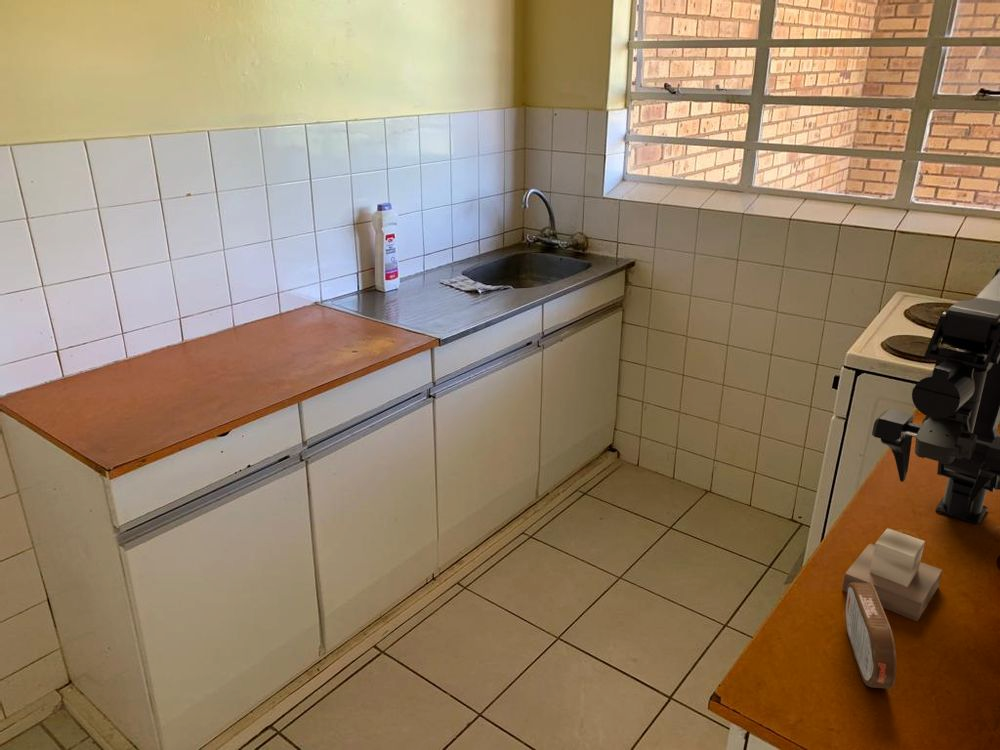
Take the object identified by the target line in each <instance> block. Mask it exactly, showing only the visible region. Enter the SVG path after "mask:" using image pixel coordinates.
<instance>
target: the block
mask: <svg viewBox="0 0 1000 750" xmlns="http://www.w3.org/2000/svg"><path fill="white" fill-rule="evenodd" d="M925 542H926V540H922V539H921V538H917V537H914V536H911V535H908V534H905V533H904V532H900V531H897V530H894V529H891V528H889V527H887V528H886V529H885V531H884V532H883V533H882V534H881V536H879V538H878V539H877V540H876V542H875V544H874V545H875V548H874V553H873V558H872V563H871V568H870V573H872V574H875V575H878V576H880V577H883V578H885V579H888V580H890V581H893V582H896V583H898V584H901V585H903V586H906V587H908V585H909V584H910V582H911V581H912V579H913V578H914V576H915V575H916V573H917V572H918V570H919V565H920V562H922V561H921V560H922V556H923V551H924V546H925Z"/></svg>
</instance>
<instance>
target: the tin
mask: <svg viewBox="0 0 1000 750" xmlns="http://www.w3.org/2000/svg"><path fill="white" fill-rule="evenodd" d="M845 599H846V600H845V605H844V618H845V626H846V632H847V636H848V640H849V644H850V646H851V648H852V649H851V650H852V652H853V656H854V658H855V661H856V664H857V668H858V671H859V674H860V677H861V679H862V681H863V683H864V684H865V685H866V686H868V687H870V688H876V689H877V688H878V689H887V690H892V689H893V688H894V686H895V683H896V679H897V651H896V644H895V638H894V633H893V631H892V630H893V629H892V628H891V625H890V622H889V620H888V618H887V615H886V612H885V611H884V610H885V609H884V608H883V607H882V605H881V602H880V600H879V597H878V595H877V592H876V590H875V587H874V586H873V584H872V583H870V582H868V583H855V582H854V583H849V584H848V586H847V592H846V598H845Z"/></svg>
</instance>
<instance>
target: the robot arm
mask: <svg viewBox="0 0 1000 750" xmlns="http://www.w3.org/2000/svg"><path fill="white" fill-rule="evenodd" d="M940 344H941V346H943V347H941V346H940ZM946 347H948V348H946ZM950 348H953V349H950ZM955 349H956V350H955ZM923 358H925V359H928V360H933V361H935V364H934V367H933V368H932V369H933V370H932V371H930V372H929V373H928V374H926V375H925V376H924V377H923V378H921V379H920V380H919V381H918V382H917V383H916V384H915V385H914V387H913V388H912V391H911V400H912V403H913V405H914V406H915V408H916V409H917V410H918V411H919V412H920V413H921V414H923V415H924V416H925V417H924V418H923V420H922V423H921V424H919V423H918V424H917V423H915V422H914V414H911V413H907V412H902V411H900V410H896V409H891V408H888V409H886V410H885V411H883V412H882V413H881V414H880V415H879V416H878V417H877V418H876V419H875V421H874V423H873V425H872V427H873V428H872V433H871V436H873V437H875V438H878V439H880V442H881V443H882V444H883V445H886V446H888V448H890V450H891V452H892V453H893V457H894V461H895V466H896V468H897V472H898V473H897V474H898V477H899V481H900V482H902V483H904V482H905V480H906V477H907V474H908V470H909V463H910V456H911V449H912V442H913V438H915V445H914V446H915V447H914V454H915V455H916V457H918V458H921V459H925V458H926V459H929V460H932V461H936V462H938V463H937V472H936V474H937V475H938V476H942V477H946V478H947V481H946V482H947V483H946V487H945V492H944V495H943V497H942V498H941V500H940V501H939V503H937V505H936V507H935V509H934V510H935V511H936V512H938V513H941V514H944V515H948V516H950V517H953V518H955V519H958V520H963V521H965V522H969V523H972V524H974V525H975V524H976V525H979V523H980V522H981V521H982V519H983V518H984V516H985V514H986V512H987V511H988V506H986V505H984V503H985V499H986V495H987V491H989V492H991V493H994V491H997V490H999V491H1000V432H999V430H998V427H999V424H1000V265H999V266H998V267H997V268H996V270H995V273H994V275H993V276H992V278H991V280H990V281H989V282H988V283H987V284H986V285H985V286H984V287H983V288H982V289H981V290H980V292H979V293H978V294H977V295H975V297H974V298H973V299H968V300H967V299H966V300H965V299H963V300H959V301H956V302H955V303H954V304H953V305H951V306H950V307H949V308H947V310H946V311H943V312H942V313H941V315H940V317H939V318H938V320H937V322H936V326H935V328H934V330H933V333H932V336H931V339H930V340H929V342H928V345H927V348H926V350H925V353H924V356H923Z"/></svg>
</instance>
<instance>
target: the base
mask: <svg viewBox="0 0 1000 750" xmlns="http://www.w3.org/2000/svg"><path fill="white" fill-rule="evenodd" d="M874 548H875V544H872V543H869V544H868V545H867V546H866V547H865V548H864V550H863V551H862V552H861V553H860V554H859V555H858V557H857V558H856V560H855V561H854V562H853V563H852V564H851V566H850V567H849V568H848V569H847V571H846V572H845V573H844V578H843V583H842V589H841V591H842V592H844V593H847V586H848V584H849V583H854V582H855V583H868V582H870V583H872V584H873V586H874V587H875V590H876V592H877V595H878V597H879V600H880V602H881V605H882V607H883V609H884V610H888V611H890V612H893V613H895V614H897V615H900V616H903V617H905V618H907V619H910V620H912V621H915V622H918V621H919V619H920V618H921V616H922V614H923V613H924V612H925V610H926V608H927V607H928V606H929V603H930V601H931V600H932V598H933V596H934V595H935V593H936V592H937V591H938V588H939V586H940V581H941V577H942V573H943V569H941V568H938V567H935V566H932V565H930V564H927V563H925V562H922V561H920V565H919V570H918V572H917V573H916V575H915V576H914V578H913V579H912V581H911V582H910V584H909V585H908V587H906V586H903V585H901V584H898V583H896V582H893V581H890V580H888V579H885V578H883V577H880V576H878V575H875V574H872V573H870V568H871V563H872V558H873V553H874Z"/></svg>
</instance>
